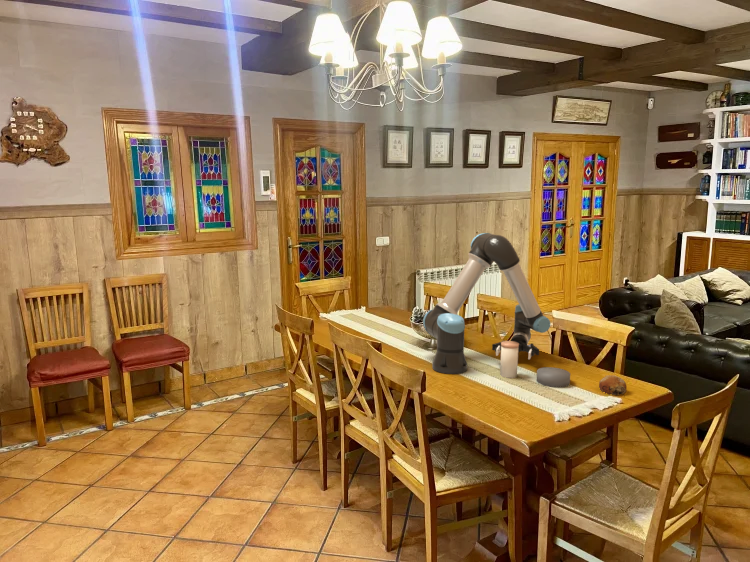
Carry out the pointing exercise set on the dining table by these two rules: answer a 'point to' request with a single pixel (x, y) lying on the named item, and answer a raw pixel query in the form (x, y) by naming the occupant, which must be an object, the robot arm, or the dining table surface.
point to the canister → (509, 359)
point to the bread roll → (612, 385)
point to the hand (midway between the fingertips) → (512, 354)
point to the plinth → (553, 377)
